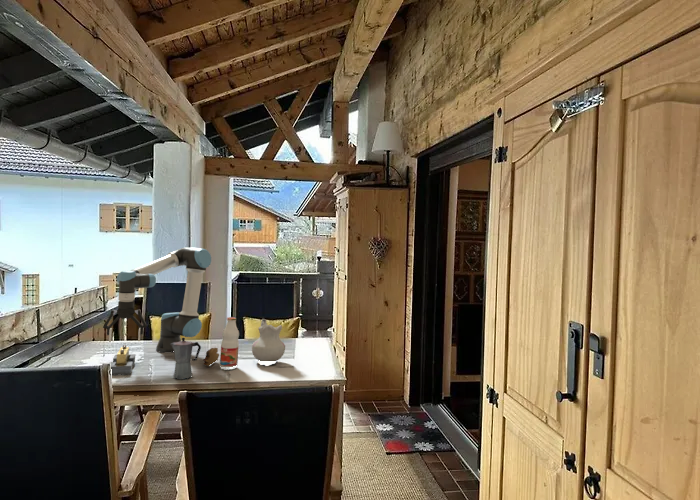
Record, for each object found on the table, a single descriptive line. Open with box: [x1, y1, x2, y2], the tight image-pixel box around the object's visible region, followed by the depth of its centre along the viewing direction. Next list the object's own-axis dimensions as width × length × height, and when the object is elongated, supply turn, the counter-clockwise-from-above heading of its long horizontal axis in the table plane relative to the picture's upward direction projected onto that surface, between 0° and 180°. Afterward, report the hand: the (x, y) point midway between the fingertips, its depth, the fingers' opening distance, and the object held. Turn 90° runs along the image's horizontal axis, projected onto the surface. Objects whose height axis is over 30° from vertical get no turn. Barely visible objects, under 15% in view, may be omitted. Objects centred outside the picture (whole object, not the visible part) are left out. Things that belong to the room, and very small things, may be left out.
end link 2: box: [109, 361, 133, 377], centre depth 221 cm, size 8×10×4 cm
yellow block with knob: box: [116, 344, 130, 366], centre depth 228 cm, size 15×4×10 cm, turn 21°
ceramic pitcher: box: [251, 318, 286, 361], centre depth 257 cm, size 22×20×25 cm
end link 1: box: [112, 353, 136, 367], centre depth 235 cm, size 8×10×4 cm
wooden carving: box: [202, 347, 220, 367], centre depth 244 cm, size 16×5×10 cm, turn 178°
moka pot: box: [170, 337, 202, 380], centre depth 221 cm, size 10×15×20 cm, turn 95°
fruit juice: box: [219, 316, 240, 367], centre depth 242 cm, size 9×9×28 cm
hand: (124, 341), depth 228 cm, fingers open, 13 cm apart
